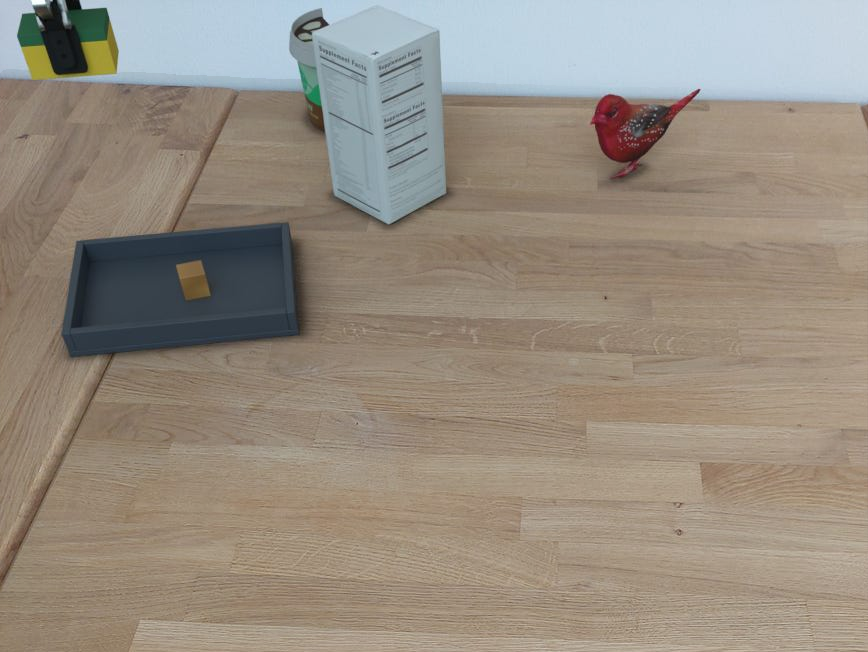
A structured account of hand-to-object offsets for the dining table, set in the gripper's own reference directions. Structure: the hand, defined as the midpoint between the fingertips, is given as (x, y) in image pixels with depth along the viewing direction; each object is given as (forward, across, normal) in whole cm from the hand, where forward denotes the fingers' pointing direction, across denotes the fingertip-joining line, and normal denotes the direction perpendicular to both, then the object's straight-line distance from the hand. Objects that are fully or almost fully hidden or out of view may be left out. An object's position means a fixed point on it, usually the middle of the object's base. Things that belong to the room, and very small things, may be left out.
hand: (73, 57), depth 95 cm
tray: (+15, +19, +7) cm, 25 cm away
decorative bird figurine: (+15, +3, +59) cm, 61 cm away
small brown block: (+15, +19, +8) cm, 25 cm away
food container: (+15, -15, +24) cm, 32 cm away
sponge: (+1, 0, 0) cm, 1 cm away
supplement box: (+15, +3, +30) cm, 34 cm away
